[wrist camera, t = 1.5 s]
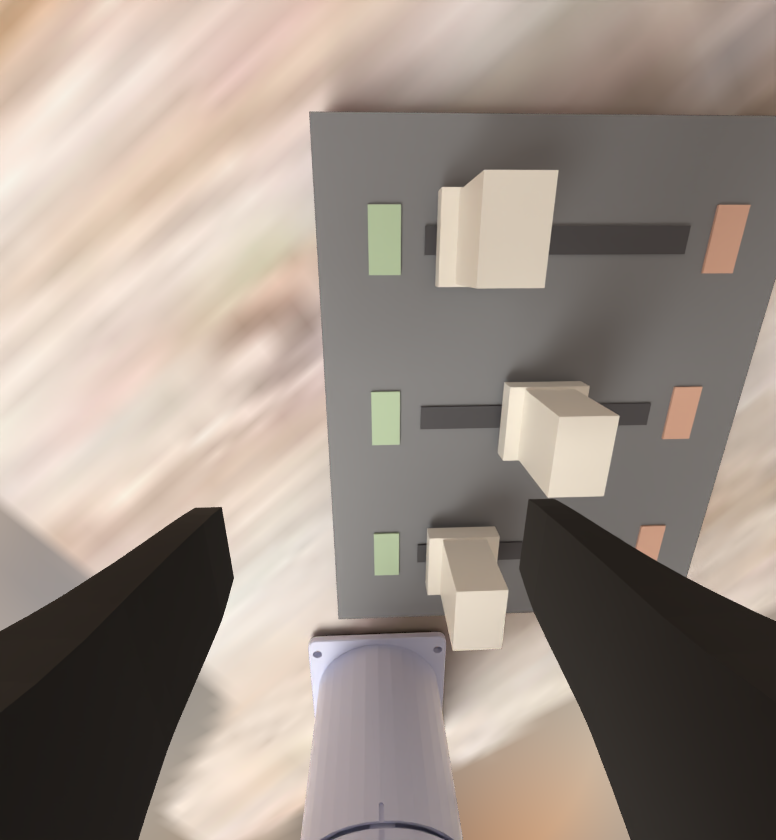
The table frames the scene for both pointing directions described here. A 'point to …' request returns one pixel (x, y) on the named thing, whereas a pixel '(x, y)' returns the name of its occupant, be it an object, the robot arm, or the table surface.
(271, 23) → the table surface
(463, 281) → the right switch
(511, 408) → the switch
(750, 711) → the robot arm
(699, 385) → the switch panel
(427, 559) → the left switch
